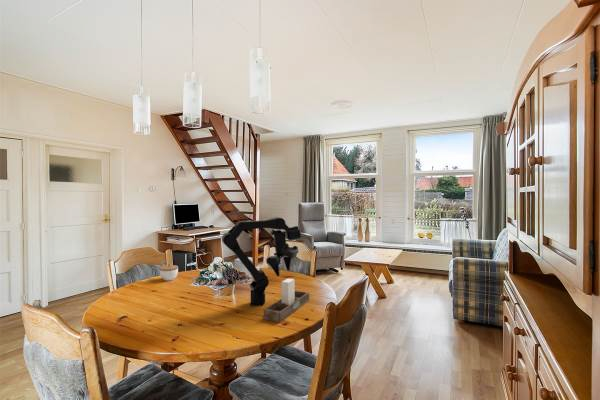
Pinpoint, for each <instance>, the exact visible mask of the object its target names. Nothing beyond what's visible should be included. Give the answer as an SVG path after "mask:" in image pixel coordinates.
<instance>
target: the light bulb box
mask: <svg viewBox="0 0 600 400" xmlns="http://www.w3.org/2000/svg"><path fill="white" fill-rule="evenodd" d="M247 257H248V258H249V260H250V261H251V262H252V263H253V262H254V261H253V257H251V256H250V257H249V256H247ZM253 264H254V263H253ZM235 268H237V269H238V270H239V271H240V272H245V273H247V274H249V275H251V274H250V272H249V271H248V270H247V268H246V267H245V266H244V265H243V263H242V262H241V261H240V260H239V258H235V259H234V269H235Z"/></svg>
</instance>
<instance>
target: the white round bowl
mask: <svg viewBox="0 0 600 400" xmlns="http://www.w3.org/2000/svg"><path fill="white" fill-rule="evenodd" d="M178 273H179V266H178V265H173V264H172V265H171V264H168V265H164V266H161V267H159V275H160V278H161V279H162V280H163V281H165V282H167V281H168V282H170V281H174V280H175V279H176V277H177V276H178V275H179V274H178Z"/></svg>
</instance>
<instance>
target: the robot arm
mask: <svg viewBox="0 0 600 400" xmlns="http://www.w3.org/2000/svg"><path fill="white" fill-rule="evenodd" d="M256 229H270V230H271V231H270V232H269V235H271V236H273V241H274V244H273V245H272V246H273V248H274V250H275V252H274V253H273V255H271V256H268V257H266V259H265V261H266V264H268V266H270V267H271V269H272V270H273V272H274V273H275V275H276V276H277V277H280V265H282V262H281V261H282V259H283V262H284V265H285V268H286V270H287V272H288V271H290V269H291V265H292V261H293V259H294V258H296V257H297V255H298V253H300V252H299V247H298V246H296V245H294V246H291V247H290V246H289V244H288V243H287V240H288V242H290V241H297V240H301V238H302V236H301V230H300V229H299V226H298V225H296V226H295V225H294V226H290V227H289V225H288V224H286V220H285V219H284V218H283V217H279V216H276V217H270V218H268V219H263V220H262V219H261V220H248V221H247V220H246V221H245V220H244V221H243V220H242V221H241V220H240V221H237V222H236V224H235V225H233V227H232V228H230V229H229V230H228V232H225V233H224V234H222V236H221V240H220V241H221V242H222V243H223V244H224V246H225V247H227V248H228V249H229V250H230V251H232V252H233V254H235V256H236V257H237V259H239V260H240V261H241V262H242V263H243V265H244V266H245V267H246V268H247V270H248V271H249V272H250V274H249V275H250V276H251V279H252V281H251V282H250V283H249V287H250V289H251V290H250V303H249V306H264V305H265V303H266V288H267V287H268V286H269V283H270V281H269V276H268V275H267V274H266V273H265V271H264V270H263V269H261V268H259V269H258V268H257V267H256V266H255V264H254V263H252V262H251V261H250V260H249V258H248V257H249V256H247V254H246V253H245V251H244V250H243V249H242V248H241V246H240V243H239V242H238V238H239V237H240V235H241V234H242V232H243V231H244V230H256Z"/></svg>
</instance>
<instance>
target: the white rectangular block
mask: <svg viewBox="0 0 600 400" xmlns="http://www.w3.org/2000/svg"><path fill="white" fill-rule="evenodd" d="M295 282H296V281H295V279H294V278H286V279H284V280H282V281H281V299H282V303H285V304H292V303H293V302H295V291H296V290H295V286H296V285H295Z"/></svg>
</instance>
